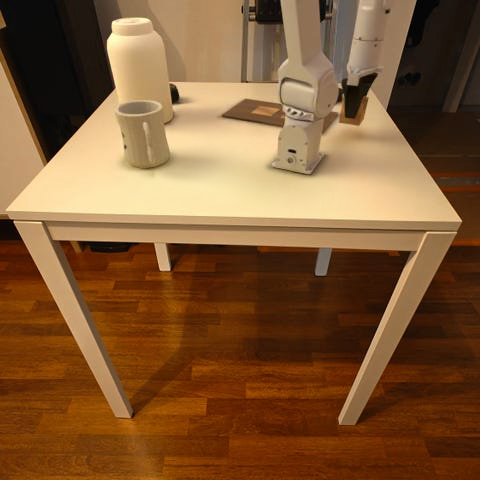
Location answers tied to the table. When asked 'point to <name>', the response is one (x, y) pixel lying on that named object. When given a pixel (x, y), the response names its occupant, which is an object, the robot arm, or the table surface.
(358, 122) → the wooden cube
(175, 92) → the tape measure
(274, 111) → the word mat
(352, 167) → the table surface
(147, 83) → the white bottle
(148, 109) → the mug
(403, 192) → the table surface
